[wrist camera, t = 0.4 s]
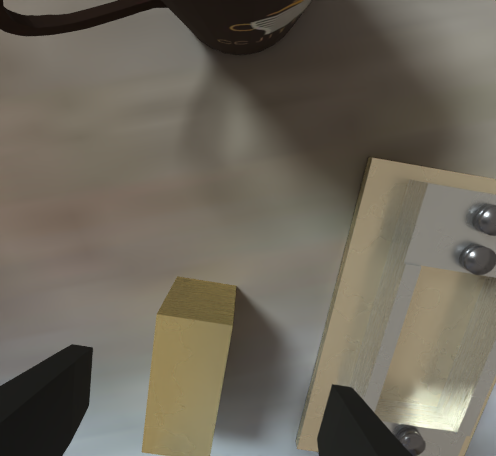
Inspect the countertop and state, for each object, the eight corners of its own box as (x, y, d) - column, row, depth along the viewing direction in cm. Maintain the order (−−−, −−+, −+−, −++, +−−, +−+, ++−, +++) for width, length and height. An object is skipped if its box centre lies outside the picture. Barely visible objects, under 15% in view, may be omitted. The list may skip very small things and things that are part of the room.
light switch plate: (452, 462, 22) (482, 510, 19) (295, 440, 22) (302, 486, 19) (564, 191, 18) (627, 200, 15) (368, 157, 17) (392, 159, 14)
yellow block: (217, 396, 21) (208, 461, 17) (163, 388, 21) (141, 452, 17) (236, 284, 19) (232, 325, 15) (177, 275, 19) (156, 314, 15)
